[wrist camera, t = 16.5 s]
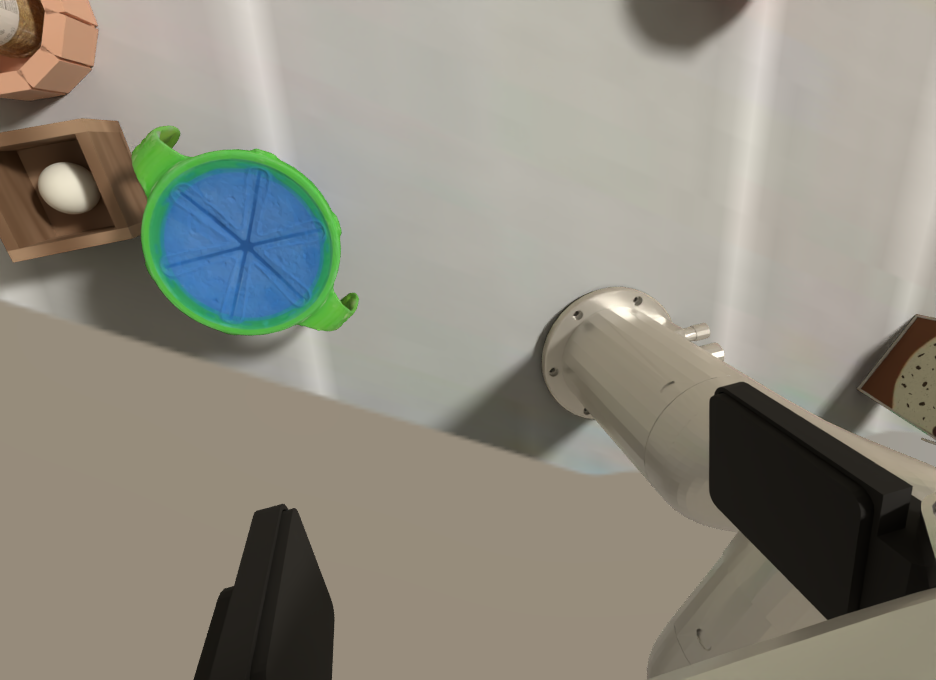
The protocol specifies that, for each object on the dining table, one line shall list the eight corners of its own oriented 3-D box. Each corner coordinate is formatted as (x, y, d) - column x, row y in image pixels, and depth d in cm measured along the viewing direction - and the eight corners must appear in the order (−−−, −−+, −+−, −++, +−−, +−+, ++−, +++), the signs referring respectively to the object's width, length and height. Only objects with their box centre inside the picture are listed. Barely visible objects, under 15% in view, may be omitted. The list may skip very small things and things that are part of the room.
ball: (96, 156, 35) (72, 158, 32) (117, 205, 36) (96, 211, 33) (45, 166, 34) (16, 168, 31) (67, 215, 36) (42, 222, 33)
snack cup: (393, 261, 42) (404, 296, 32) (289, 341, 42) (270, 399, 33) (247, 80, 35) (209, 59, 26) (128, 177, 36) (49, 191, 27)
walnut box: (118, 121, 35) (82, 118, 30) (160, 226, 37) (132, 238, 33) (4, 141, 34) (-51, 141, 29) (56, 247, 37) (13, 262, 32)
